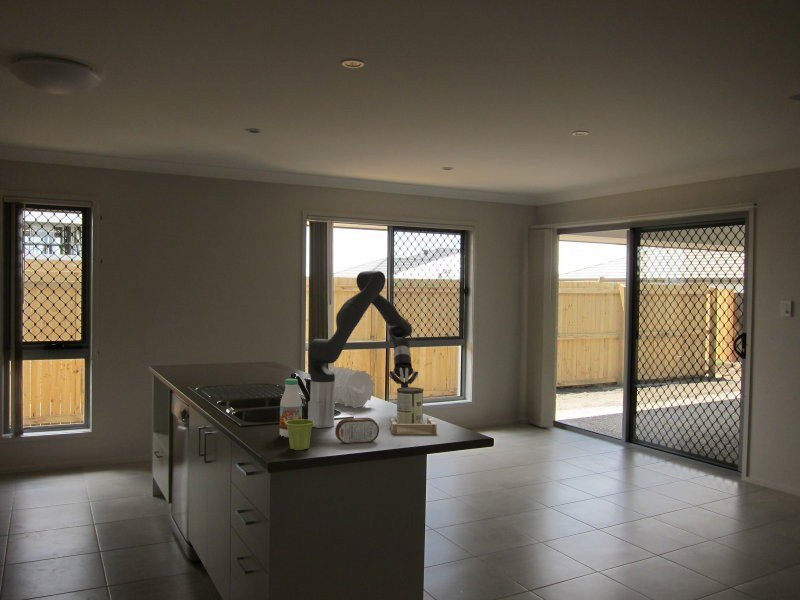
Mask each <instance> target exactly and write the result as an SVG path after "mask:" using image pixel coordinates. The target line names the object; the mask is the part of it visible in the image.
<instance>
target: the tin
mask: <svg viewBox="0 0 800 600" xmlns="http://www.w3.org/2000/svg"><path fill="white" fill-rule="evenodd" d="M334 433H335V437H336V438H337V440H338V441H340V442H341V443H343V444H346V445H349V444H350V445H351V444H352V445H353V444H370V443H373V442H375V440H376V439H378V437H379V433H380V427H379V425H378V423H377V421H376V420H375V419H373V418H371V417H348V418H346V417H345V418H343V419H341V420H340V421H339V422H338V423H337V425H336V427H335V430H334Z"/></svg>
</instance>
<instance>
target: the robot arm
mask: <svg viewBox="0 0 800 600" xmlns="http://www.w3.org/2000/svg"><path fill="white" fill-rule="evenodd" d="M385 285H386V276H385V273H383V271H380V270H364V271H360V272H359V273H358V274H357V276H356V286H357V288H358V290H359V292H358V293H356V294H354V295H353V296H352V297H350V298H348V299H347V300H346V301H345V302H344V303H343V304H342V305H341V308H339V310H338V312H337V313H336V317H335V325H336V330H335V332H334V334H333V335H332V336H331V337H330V338H329V339H328V338H326V339H325V338H314V339H313V340H311V341H310V343H309V347H308V351H307V352H308V354H307V355H308V373H309V376H310V388H309V389H310V390H309V391H310V399H309V400H308V402H307V404H308V405H307V420H312V421H314V424H313V427H312V428H317V429H321V428H331V427H335V402H334V396H335V375H334V373H333V372H331V371H330V370H329V368H327V366H326V364H334V363H336V361H337V360H338V359H339V358H340V355H342V352H343V349H344V347H346V344H347V342H348V340H349V339H350V336H351V335H352V333H353V332H354V330H355V328H356V327H357V326H358V324H359V323H360V321H361V320H362V318H363V317H364V314H366V311H367V310H368V308H369V307H370V306H371V304H372V305H373V306H374V307H375V309H376V310H377V311H378V313H380V316H381V317H382V319H383V320H384V322H385V323H386V325H388V326H389V329H388V335H389V336H390V339H391V340H392V345H393V366H394V367H393V370H391V371H389V373H388V377H390V379H392V380H393V382H394V383H396V385H400V388H403V387H409V385H412V384H413V382H414V381H416V379H417V378H418V376H419V371H415V370H414V368H413V365H412V363H413V362H412V354H411V350H410V342H409V339H408V338H407V337H410V336H411V335H412V333H413V327H412V325H411V323H410V322H409V321H408V320H407V319H405V318H404V317H403V316H402V315H400V313H399V311H398V310H397V308H396V307H395V305H394V304H393V303H392V302H391V301H390V300H388V299H387V298H385V296H383V295H381V292H382V291H383V289H384V287H385Z"/></svg>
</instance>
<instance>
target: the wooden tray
mask: <svg viewBox="0 0 800 600" xmlns="http://www.w3.org/2000/svg"><path fill="white" fill-rule="evenodd" d="M426 420H427V421H426V422H427V423H422V424H397V420H396V419H395V417H389V428H390V431H391V433H392V435H437V423H436V422H435V420H434V419H433V417H427V418H426Z"/></svg>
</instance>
